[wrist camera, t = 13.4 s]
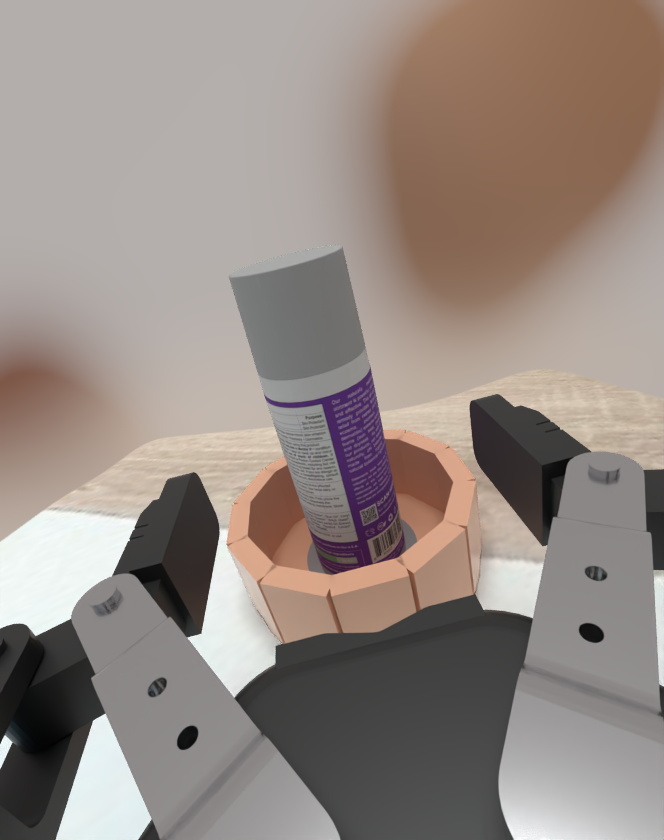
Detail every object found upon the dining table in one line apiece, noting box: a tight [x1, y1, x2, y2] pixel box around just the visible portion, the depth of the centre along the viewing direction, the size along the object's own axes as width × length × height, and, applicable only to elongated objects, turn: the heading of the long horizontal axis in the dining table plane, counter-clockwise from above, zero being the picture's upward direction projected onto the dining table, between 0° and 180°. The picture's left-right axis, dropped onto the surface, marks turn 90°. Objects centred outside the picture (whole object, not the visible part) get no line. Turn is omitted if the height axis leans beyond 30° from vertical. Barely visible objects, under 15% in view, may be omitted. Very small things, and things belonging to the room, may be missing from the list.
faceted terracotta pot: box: [227, 430, 482, 644], centre depth 22 cm, size 12×12×5 cm
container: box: [229, 245, 406, 575], centre depth 20 cm, size 5×5×15 cm
